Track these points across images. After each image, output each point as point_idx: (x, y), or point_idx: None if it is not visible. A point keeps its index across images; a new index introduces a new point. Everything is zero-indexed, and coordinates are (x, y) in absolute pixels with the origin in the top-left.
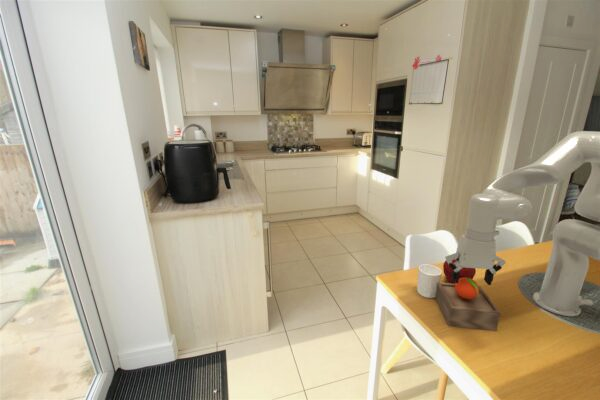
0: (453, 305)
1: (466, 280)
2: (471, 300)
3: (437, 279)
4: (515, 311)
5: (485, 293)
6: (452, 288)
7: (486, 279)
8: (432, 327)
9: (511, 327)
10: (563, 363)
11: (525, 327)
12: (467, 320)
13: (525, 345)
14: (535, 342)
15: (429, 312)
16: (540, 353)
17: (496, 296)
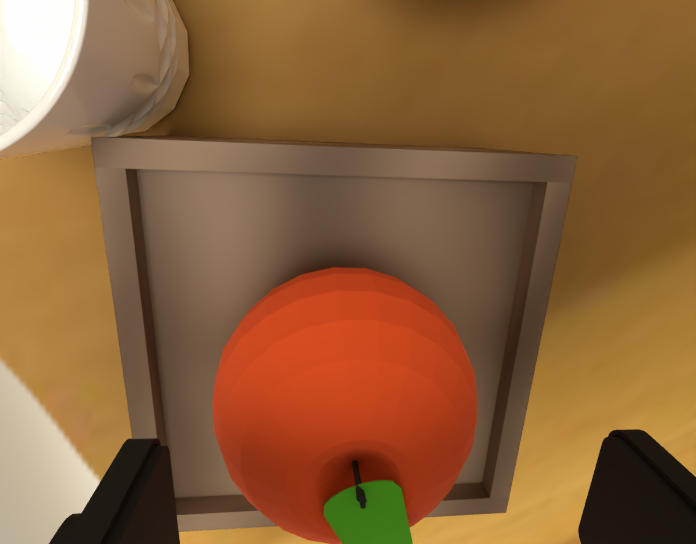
0: (188, 464)
1: (332, 478)
2: None
3: (51, 144)
4: (686, 219)
5: (548, 289)
6: (263, 204)
7: (622, 527)
8: (91, 445)
9: (552, 368)
10: None
11: (627, 356)
12: None
13: (530, 474)
14: (591, 449)
15: (91, 317)
16: (559, 504)
17: (692, 39)
